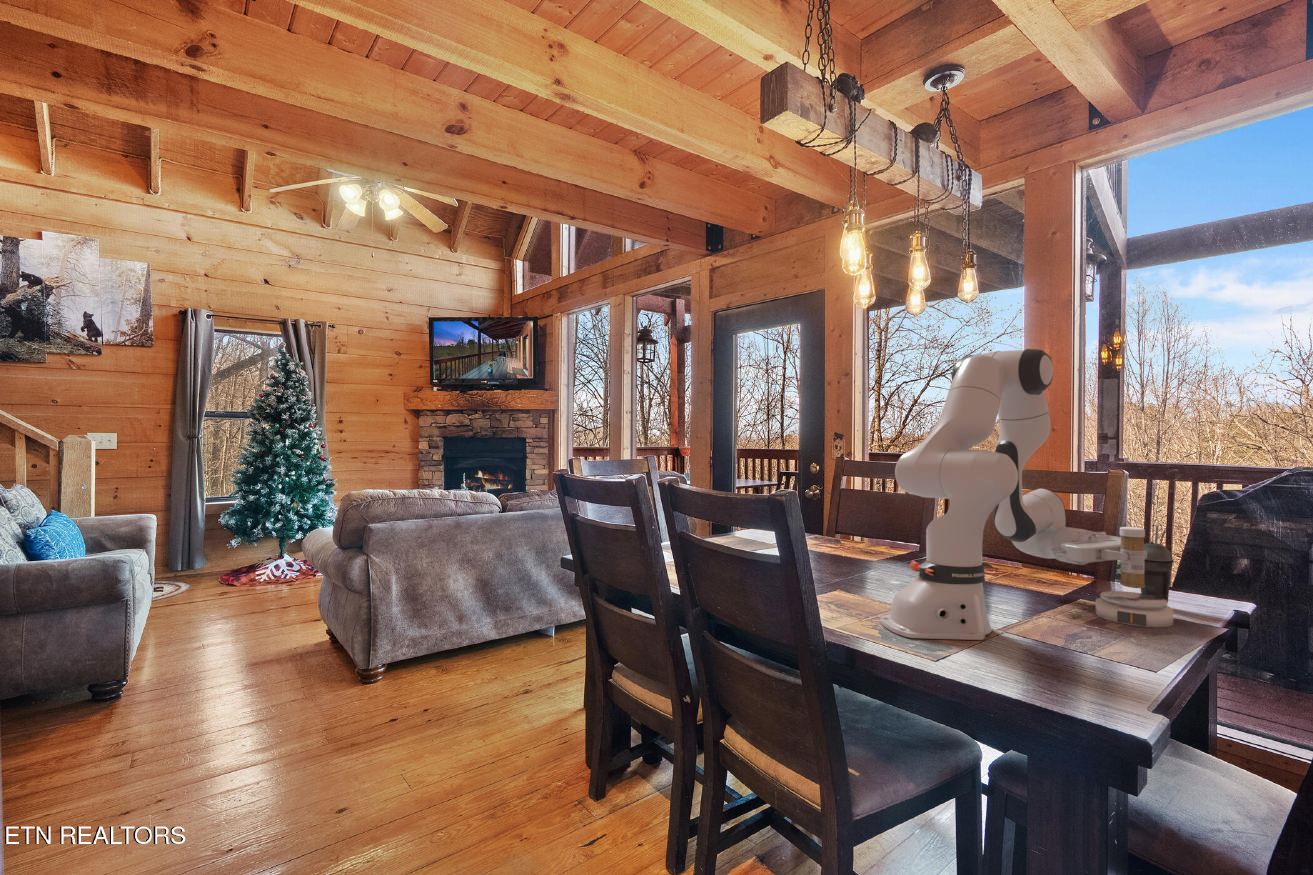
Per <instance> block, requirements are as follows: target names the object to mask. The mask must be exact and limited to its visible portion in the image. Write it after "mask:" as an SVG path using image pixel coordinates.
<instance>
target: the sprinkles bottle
mask: <svg viewBox="0 0 1313 875" xmlns="http://www.w3.org/2000/svg"><path fill="white" fill-rule="evenodd" d="M1119 537H1121V552H1127V553H1129V554H1130V560H1128V561H1121V560H1120V585H1121V586H1123V587H1126V588H1132V589H1141V588H1144V587H1145V584H1144V544H1145V537H1146V530H1145V529H1144V528H1143V527H1136V526H1120V527H1119Z"/></svg>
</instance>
